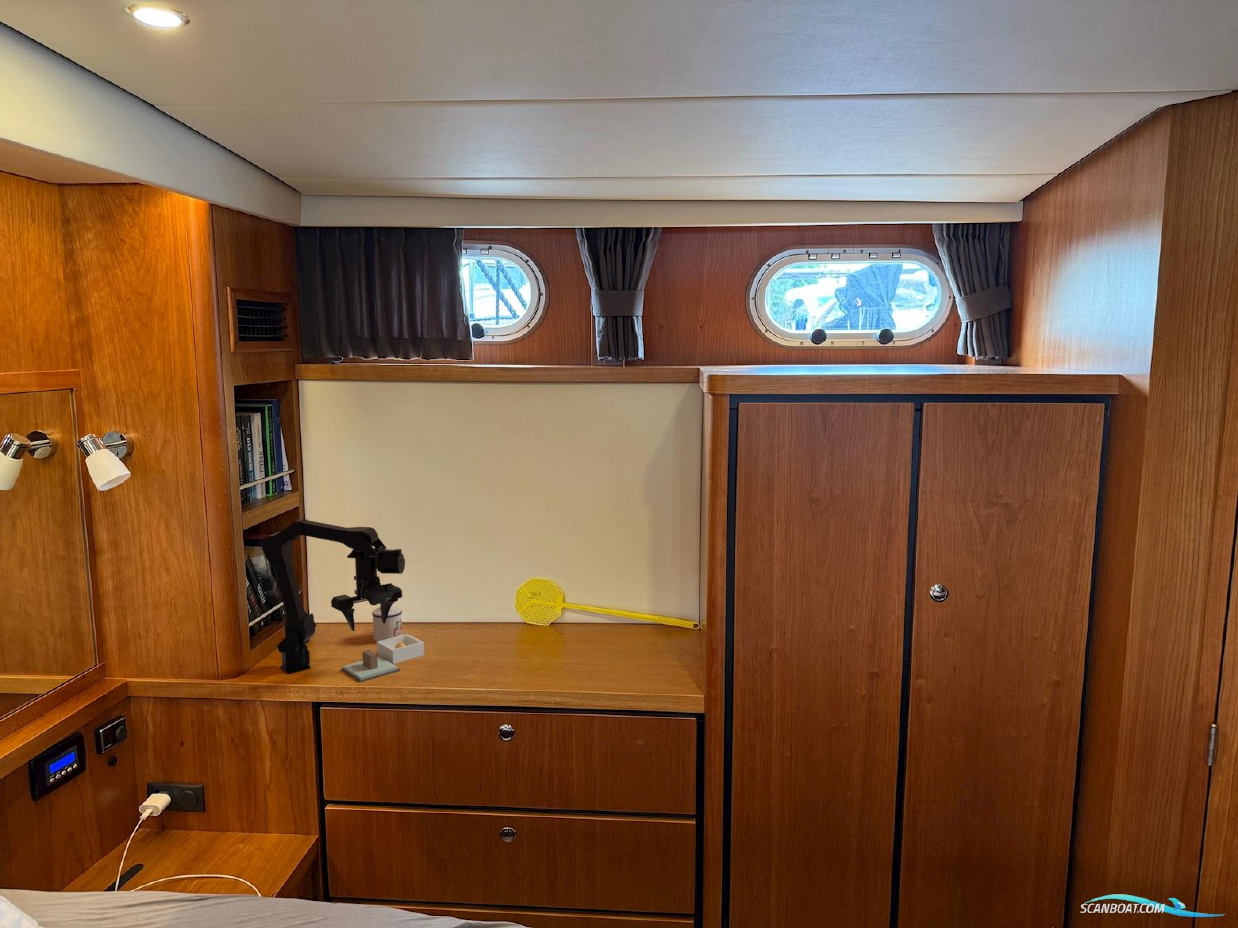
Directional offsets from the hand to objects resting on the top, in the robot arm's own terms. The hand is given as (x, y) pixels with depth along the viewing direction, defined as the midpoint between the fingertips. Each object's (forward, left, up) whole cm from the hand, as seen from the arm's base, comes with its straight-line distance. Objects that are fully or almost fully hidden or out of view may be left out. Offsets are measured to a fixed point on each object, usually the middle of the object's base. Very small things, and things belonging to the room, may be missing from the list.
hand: (368, 626), depth 221 cm
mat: (0, 0, -13) cm, 13 cm away
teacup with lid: (+17, +22, -13) cm, 31 cm away
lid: (0, 0, -12) cm, 12 cm away
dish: (+12, +5, -13) cm, 18 cm away
